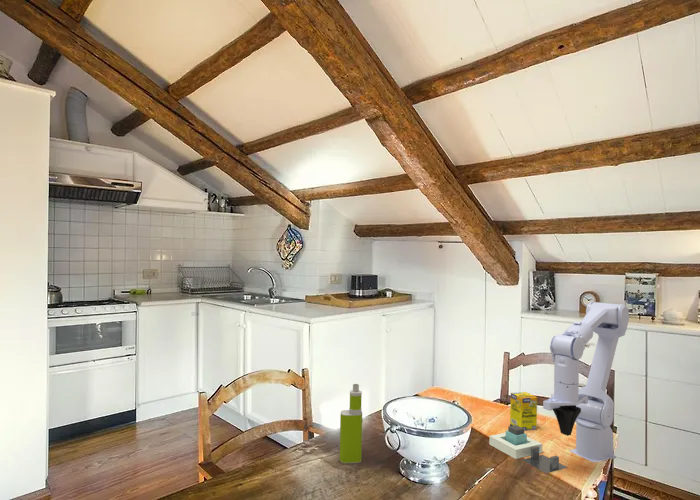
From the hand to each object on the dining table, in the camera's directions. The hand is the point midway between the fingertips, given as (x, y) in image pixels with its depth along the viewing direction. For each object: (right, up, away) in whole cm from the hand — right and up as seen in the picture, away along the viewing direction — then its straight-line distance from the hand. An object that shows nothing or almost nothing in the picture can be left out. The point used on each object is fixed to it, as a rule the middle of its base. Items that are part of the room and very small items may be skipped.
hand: (565, 434), depth 113 cm
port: (-9, -9, +11) cm, 17 cm away
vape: (-56, -9, +3) cm, 57 cm away
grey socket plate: (-5, -9, +2) cm, 11 cm away
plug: (-9, -10, +11) cm, 17 cm away
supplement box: (0, -10, +28) cm, 29 cm away
